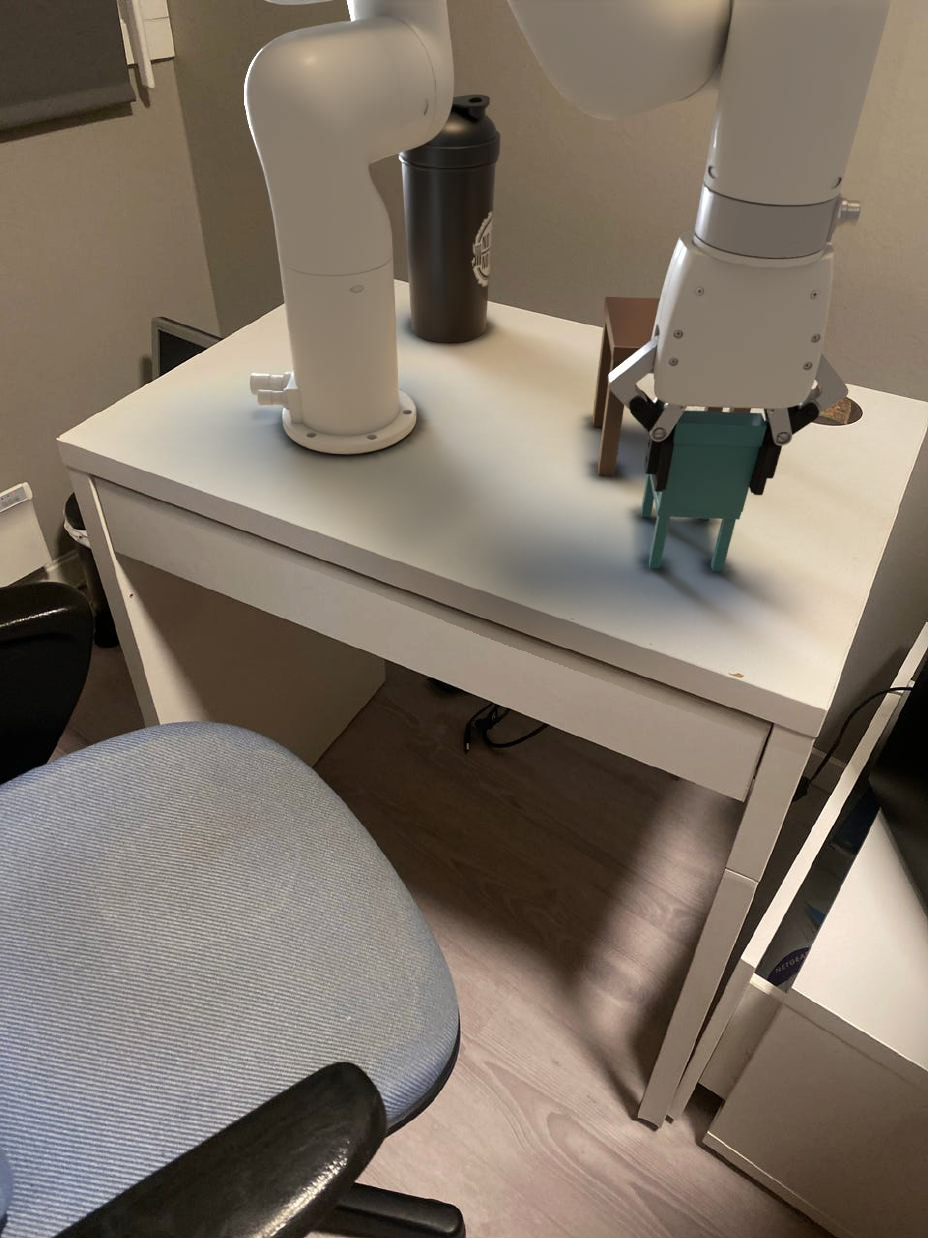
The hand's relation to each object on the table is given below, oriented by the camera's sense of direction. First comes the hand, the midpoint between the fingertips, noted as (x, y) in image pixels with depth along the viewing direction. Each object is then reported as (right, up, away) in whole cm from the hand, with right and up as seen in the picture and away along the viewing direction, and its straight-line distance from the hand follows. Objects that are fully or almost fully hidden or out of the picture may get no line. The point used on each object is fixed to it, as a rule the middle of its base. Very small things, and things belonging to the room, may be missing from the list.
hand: (705, 480), depth 64 cm
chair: (0, -4, +8) cm, 9 cm away
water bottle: (-19, +23, +38) cm, 48 cm away
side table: (+1, +6, +18) cm, 19 cm away
